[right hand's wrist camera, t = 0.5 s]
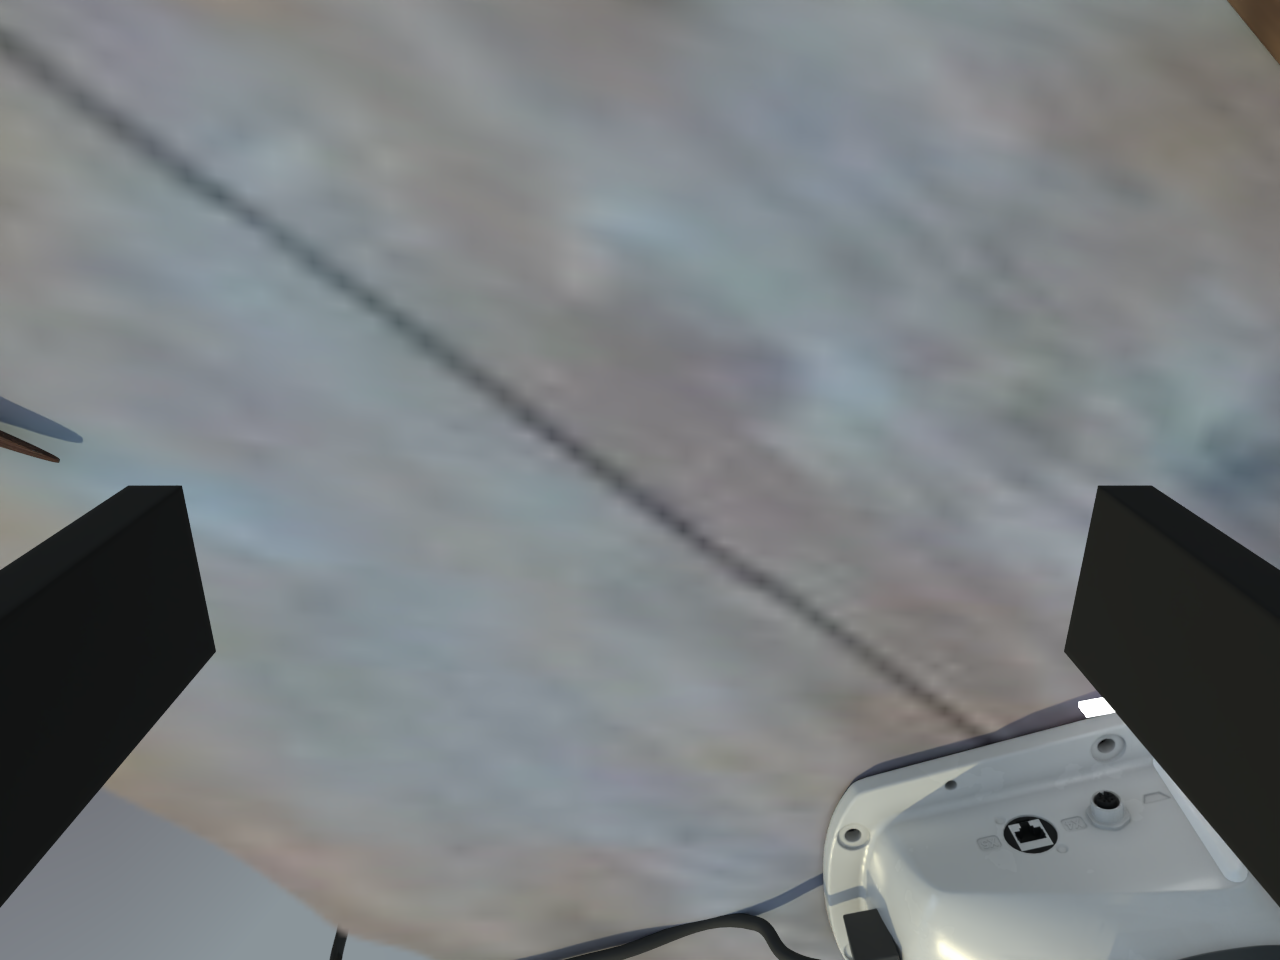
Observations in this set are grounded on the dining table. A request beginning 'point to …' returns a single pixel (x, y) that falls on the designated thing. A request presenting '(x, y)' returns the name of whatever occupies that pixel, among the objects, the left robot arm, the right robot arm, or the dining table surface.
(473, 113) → the dining table surface
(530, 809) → the dining table surface
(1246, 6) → the beam
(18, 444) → the fork
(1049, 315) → the dining table surface
